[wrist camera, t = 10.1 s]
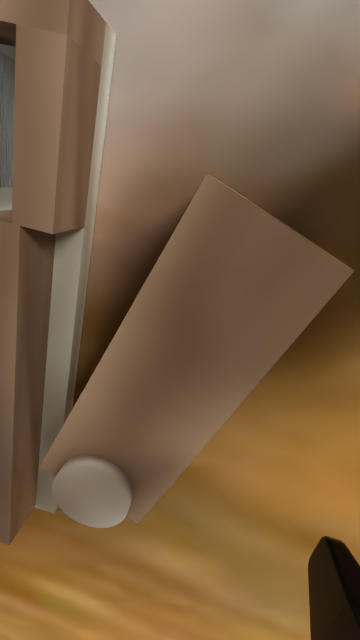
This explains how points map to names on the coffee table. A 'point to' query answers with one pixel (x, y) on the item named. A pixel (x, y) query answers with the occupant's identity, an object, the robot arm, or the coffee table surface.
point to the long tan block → (187, 354)
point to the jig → (46, 232)
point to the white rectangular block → (6, 119)
